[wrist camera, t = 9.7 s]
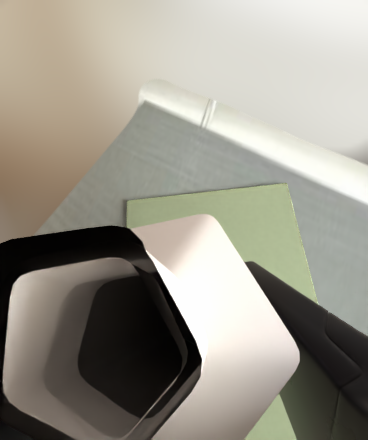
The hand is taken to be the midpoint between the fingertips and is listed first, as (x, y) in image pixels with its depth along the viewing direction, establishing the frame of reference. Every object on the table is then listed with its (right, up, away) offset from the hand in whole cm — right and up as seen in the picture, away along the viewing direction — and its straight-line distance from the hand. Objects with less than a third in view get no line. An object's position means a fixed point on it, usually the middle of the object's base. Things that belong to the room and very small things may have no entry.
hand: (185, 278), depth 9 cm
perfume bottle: (+1, -4, +7) cm, 8 cm away
